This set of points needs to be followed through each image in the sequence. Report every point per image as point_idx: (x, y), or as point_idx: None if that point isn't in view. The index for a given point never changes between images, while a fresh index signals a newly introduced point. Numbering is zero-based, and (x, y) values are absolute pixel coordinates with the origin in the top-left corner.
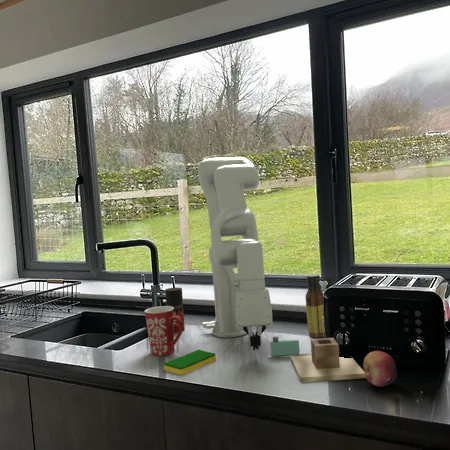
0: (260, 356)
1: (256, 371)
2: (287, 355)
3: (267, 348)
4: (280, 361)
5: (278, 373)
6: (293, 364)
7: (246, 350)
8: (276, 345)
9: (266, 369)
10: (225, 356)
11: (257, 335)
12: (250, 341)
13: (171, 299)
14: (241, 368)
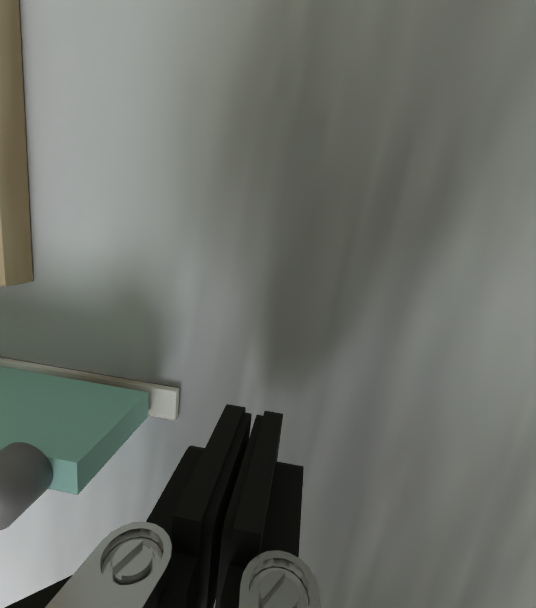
0: None
1: (324, 115)
2: (41, 373)
3: None
4: (105, 292)
5: (155, 13)
6: (12, 142)
7: None
8: (51, 430)
9: (234, 143)
10: (485, 537)
11: (177, 552)
12: (298, 504)
13: None
14: (433, 229)
